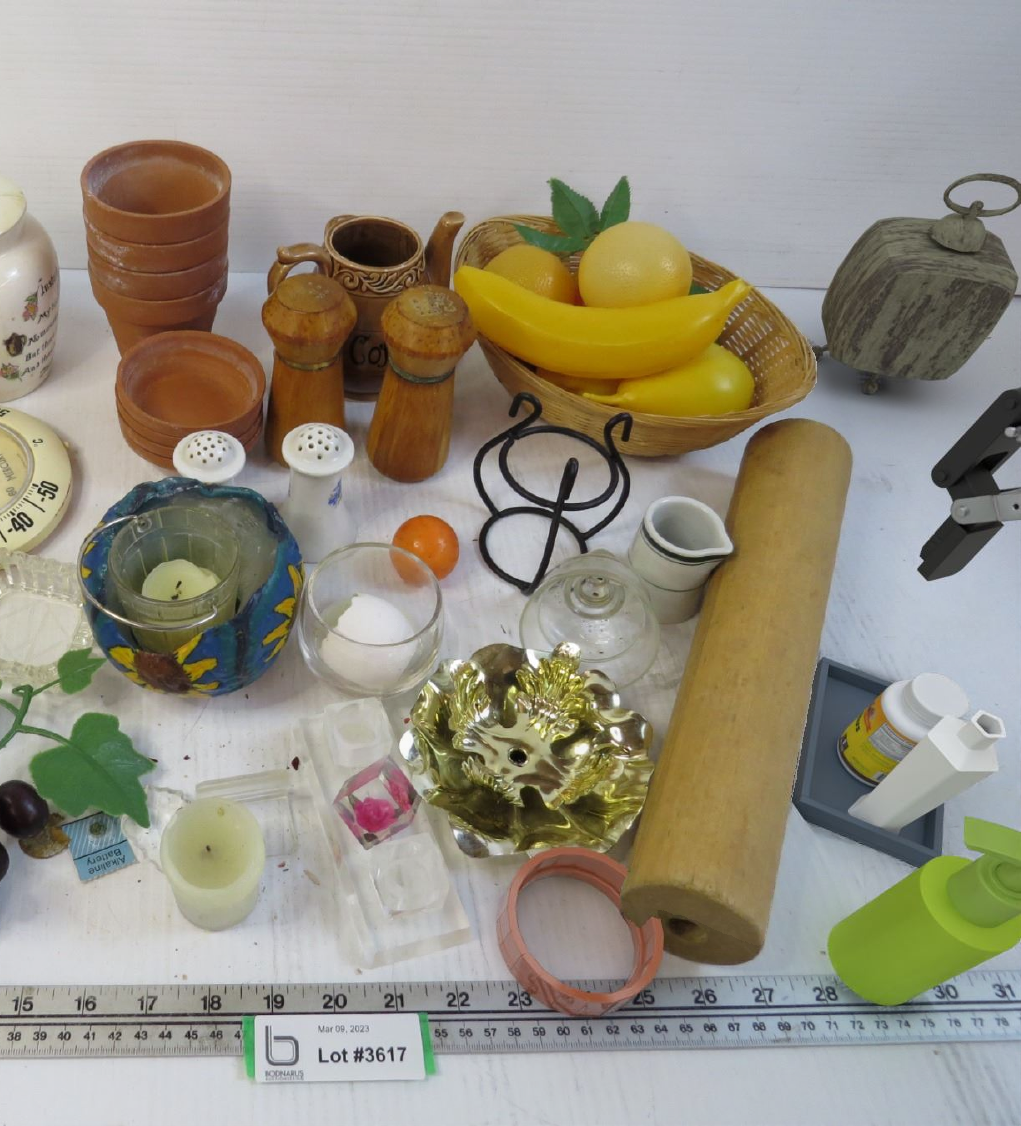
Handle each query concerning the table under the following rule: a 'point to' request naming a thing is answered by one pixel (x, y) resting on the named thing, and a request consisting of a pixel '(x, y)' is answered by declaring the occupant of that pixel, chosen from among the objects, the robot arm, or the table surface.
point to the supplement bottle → (898, 724)
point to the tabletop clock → (920, 292)
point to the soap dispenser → (934, 920)
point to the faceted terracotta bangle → (529, 971)
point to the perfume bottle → (933, 771)
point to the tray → (832, 787)
